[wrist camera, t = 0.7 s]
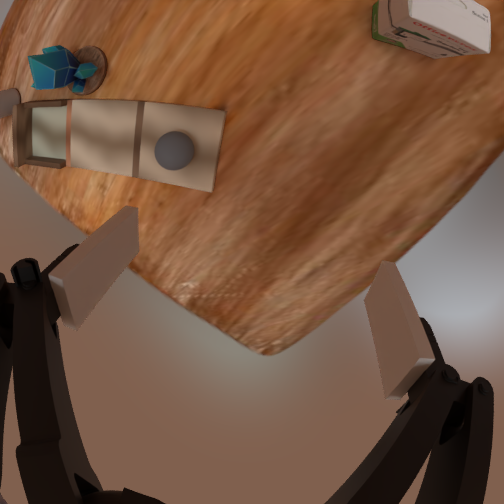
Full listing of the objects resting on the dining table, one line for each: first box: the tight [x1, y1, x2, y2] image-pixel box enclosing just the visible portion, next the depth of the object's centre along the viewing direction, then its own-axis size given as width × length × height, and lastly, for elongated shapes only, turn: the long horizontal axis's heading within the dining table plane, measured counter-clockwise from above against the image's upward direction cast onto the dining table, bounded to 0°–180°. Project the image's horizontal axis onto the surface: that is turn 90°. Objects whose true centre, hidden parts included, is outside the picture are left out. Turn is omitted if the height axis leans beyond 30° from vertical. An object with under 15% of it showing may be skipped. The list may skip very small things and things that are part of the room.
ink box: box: [372, 0, 491, 59], centre depth 17 cm, size 9×5×12 cm, turn 86°
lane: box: [12, 99, 227, 192], centre depth 32 cm, size 10×33×4 cm, turn 79°
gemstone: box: [28, 45, 107, 95], centre depth 24 cm, size 7×9×12 cm
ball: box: [154, 131, 194, 171], centre depth 31 cm, size 4×4×4 cm
